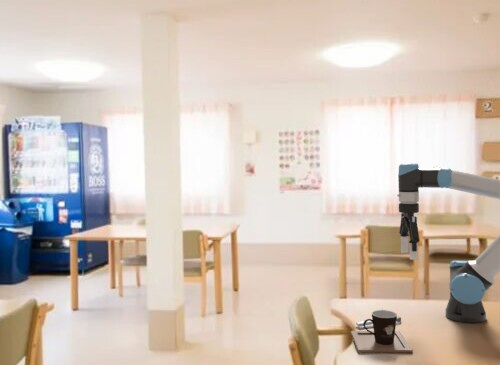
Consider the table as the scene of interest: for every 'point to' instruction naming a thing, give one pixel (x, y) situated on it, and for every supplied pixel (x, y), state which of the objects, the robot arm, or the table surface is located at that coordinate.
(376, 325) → the coffee mug
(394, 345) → the tray
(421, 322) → the table surface
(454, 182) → the robot arm
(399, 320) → the tongs
